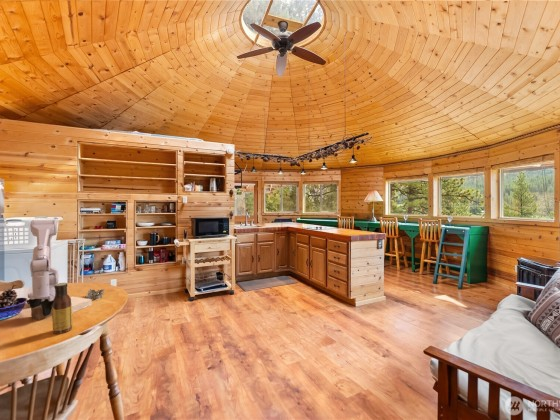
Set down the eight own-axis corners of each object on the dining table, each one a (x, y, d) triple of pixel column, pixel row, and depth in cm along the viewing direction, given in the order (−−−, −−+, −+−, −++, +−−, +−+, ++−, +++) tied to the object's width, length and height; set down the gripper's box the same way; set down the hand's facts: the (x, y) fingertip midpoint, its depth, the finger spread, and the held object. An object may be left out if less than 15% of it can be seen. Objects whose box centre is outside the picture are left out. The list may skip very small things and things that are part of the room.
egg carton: (90, 295, 149) (89, 288, 149) (105, 293, 152) (105, 286, 152) (84, 301, 139) (84, 294, 139) (101, 299, 142) (101, 292, 142)
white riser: (46, 311, 127) (45, 305, 127) (71, 302, 138) (71, 296, 138) (67, 314, 123) (66, 308, 123) (91, 305, 134) (91, 299, 134)
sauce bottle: (60, 327, 110) (59, 281, 110) (76, 327, 111) (75, 281, 110) (48, 335, 104) (47, 286, 103) (64, 334, 104) (63, 285, 104)
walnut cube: (31, 319, 118) (31, 308, 118) (44, 314, 123) (43, 304, 123) (39, 320, 117) (38, 309, 117) (51, 316, 122) (51, 305, 121)
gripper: (19, 286, 118) (20, 316, 118) (41, 289, 113) (42, 320, 114) (37, 281, 124) (38, 309, 125) (59, 284, 120) (60, 313, 121)
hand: (41, 314), depth 120 cm, fingers open, 6 cm apart
